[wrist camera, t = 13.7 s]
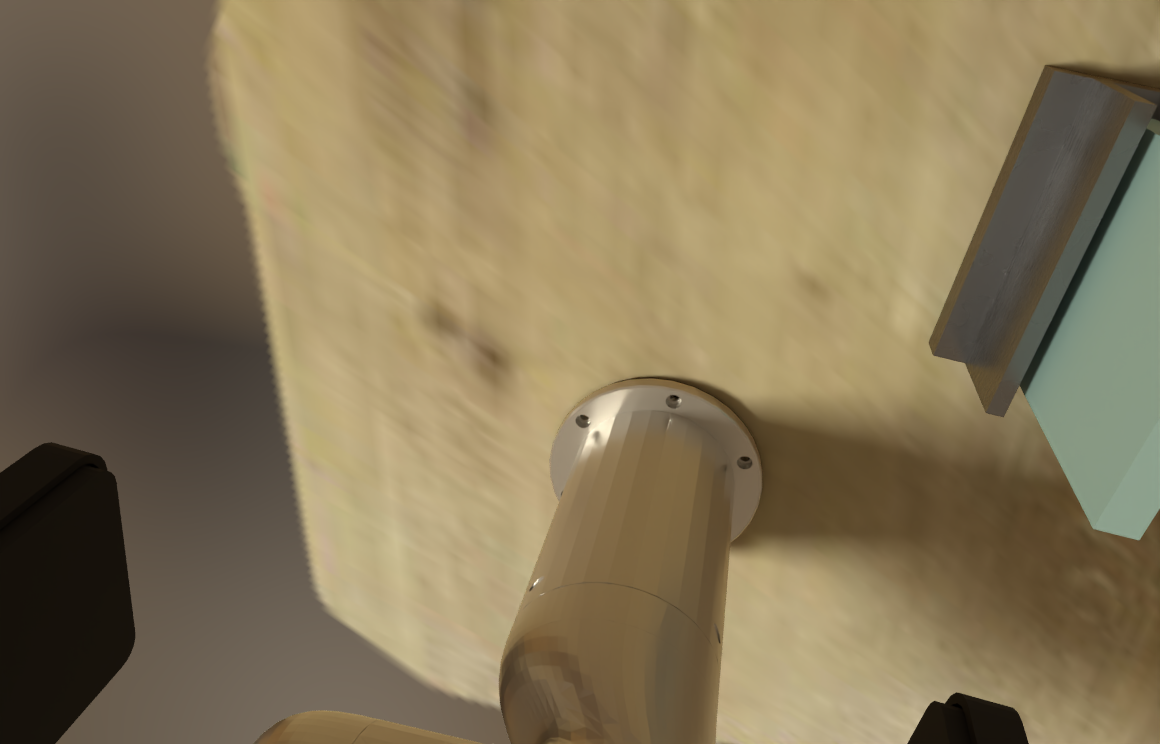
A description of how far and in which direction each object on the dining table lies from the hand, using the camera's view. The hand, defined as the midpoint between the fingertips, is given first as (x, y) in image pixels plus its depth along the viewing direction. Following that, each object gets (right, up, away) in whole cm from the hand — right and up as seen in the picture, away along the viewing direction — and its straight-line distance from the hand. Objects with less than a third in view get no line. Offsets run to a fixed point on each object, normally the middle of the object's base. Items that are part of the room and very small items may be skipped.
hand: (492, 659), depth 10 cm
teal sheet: (+24, +9, +30) cm, 39 cm away
